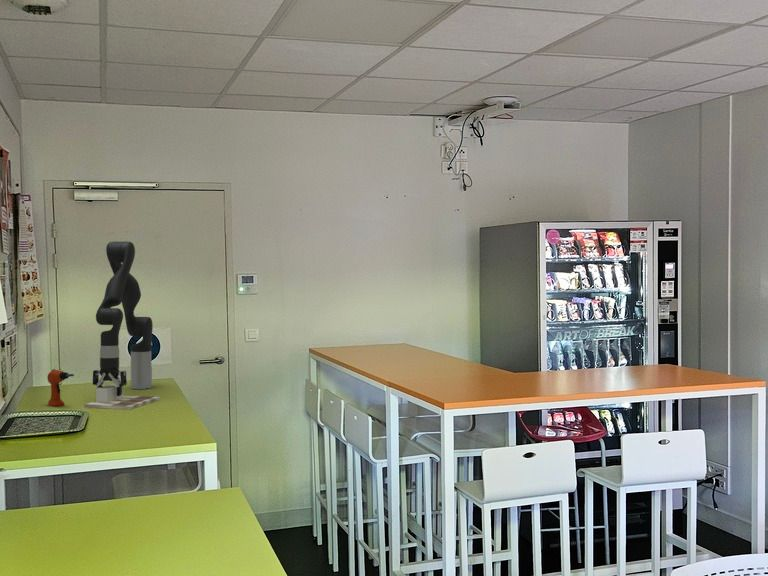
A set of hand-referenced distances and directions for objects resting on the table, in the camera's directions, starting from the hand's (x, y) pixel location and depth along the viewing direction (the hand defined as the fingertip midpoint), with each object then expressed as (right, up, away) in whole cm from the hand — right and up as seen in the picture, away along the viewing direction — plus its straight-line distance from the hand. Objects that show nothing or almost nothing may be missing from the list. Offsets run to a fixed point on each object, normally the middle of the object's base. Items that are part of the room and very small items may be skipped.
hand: (109, 395), depth 320 cm
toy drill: (-16, -3, -9) cm, 19 cm away
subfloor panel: (+6, -3, -1) cm, 7 cm away
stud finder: (0, -2, 0) cm, 2 cm away
